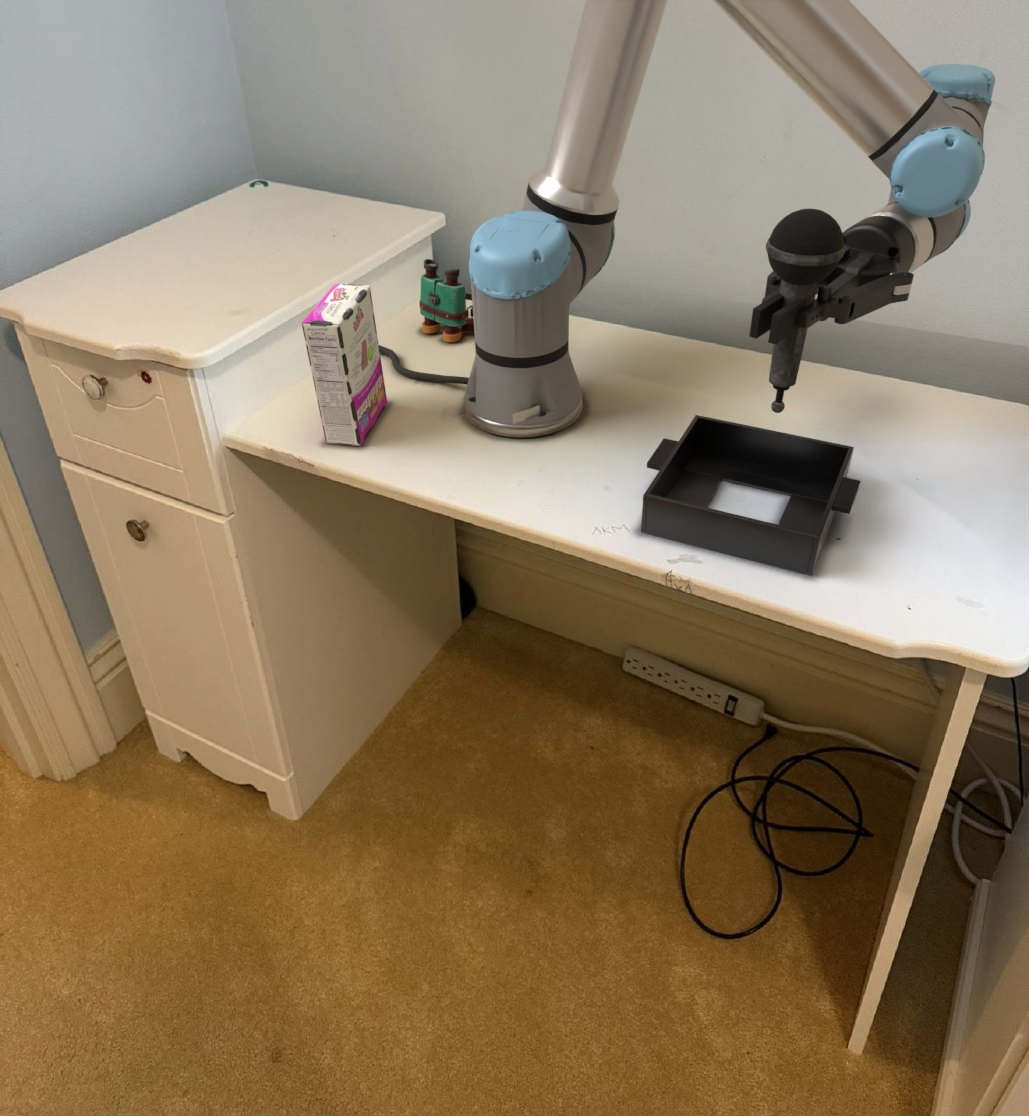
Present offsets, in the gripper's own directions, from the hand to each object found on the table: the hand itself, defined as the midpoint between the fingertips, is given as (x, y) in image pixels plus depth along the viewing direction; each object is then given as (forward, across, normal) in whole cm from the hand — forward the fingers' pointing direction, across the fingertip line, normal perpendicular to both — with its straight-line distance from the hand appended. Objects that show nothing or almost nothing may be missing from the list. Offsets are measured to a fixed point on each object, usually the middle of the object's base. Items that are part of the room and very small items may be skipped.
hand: (764, 326), depth 82 cm
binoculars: (-18, +59, -24) cm, 66 cm away
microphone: (-6, 0, -11) cm, 13 cm away
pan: (-5, +2, -24) cm, 24 cm away
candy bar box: (+10, +49, -24) cm, 55 cm away
